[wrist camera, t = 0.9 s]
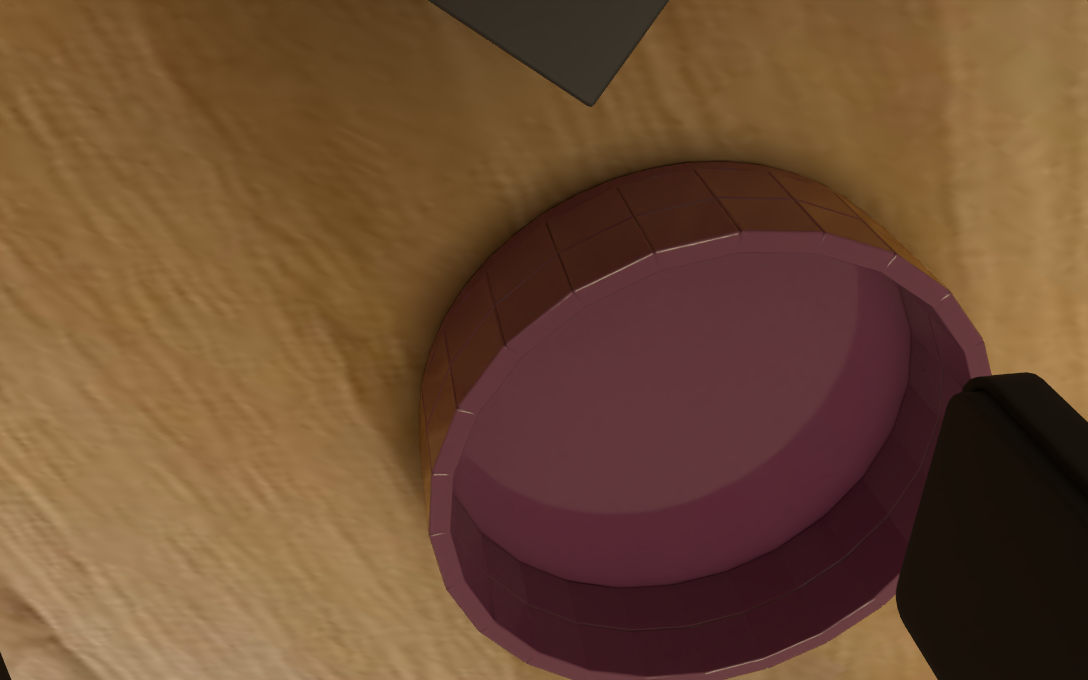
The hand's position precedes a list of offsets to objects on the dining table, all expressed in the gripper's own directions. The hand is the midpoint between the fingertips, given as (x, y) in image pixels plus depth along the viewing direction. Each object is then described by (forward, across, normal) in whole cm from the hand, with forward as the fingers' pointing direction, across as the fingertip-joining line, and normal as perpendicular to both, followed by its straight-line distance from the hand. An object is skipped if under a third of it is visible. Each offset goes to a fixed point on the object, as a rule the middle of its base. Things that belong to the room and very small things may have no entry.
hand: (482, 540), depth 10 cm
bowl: (+18, -8, +12) cm, 23 cm away
